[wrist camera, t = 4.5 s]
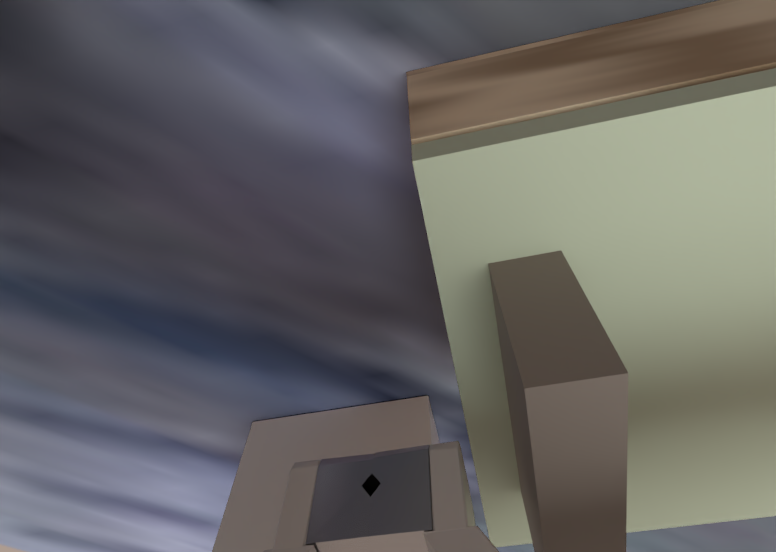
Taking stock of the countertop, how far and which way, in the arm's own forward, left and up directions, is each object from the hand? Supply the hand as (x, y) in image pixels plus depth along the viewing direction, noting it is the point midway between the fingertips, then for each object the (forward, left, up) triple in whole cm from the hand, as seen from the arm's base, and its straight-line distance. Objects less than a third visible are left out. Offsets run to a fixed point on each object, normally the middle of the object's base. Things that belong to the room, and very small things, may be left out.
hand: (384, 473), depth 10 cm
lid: (+6, 0, -2) cm, 7 cm away
